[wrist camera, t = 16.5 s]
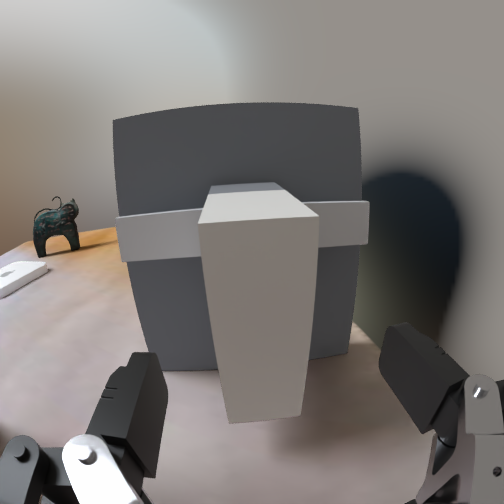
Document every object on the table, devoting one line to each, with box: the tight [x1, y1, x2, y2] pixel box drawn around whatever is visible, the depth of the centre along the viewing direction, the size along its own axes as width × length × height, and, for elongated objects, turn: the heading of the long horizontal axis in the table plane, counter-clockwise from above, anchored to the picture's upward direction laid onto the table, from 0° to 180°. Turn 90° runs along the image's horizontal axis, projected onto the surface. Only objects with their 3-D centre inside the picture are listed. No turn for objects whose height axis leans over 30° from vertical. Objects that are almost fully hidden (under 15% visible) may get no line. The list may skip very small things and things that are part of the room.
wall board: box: [113, 103, 369, 371], centre depth 25 cm, size 22×8×26 cm, turn 95°
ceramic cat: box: [33, 197, 80, 258], centre depth 77 cm, size 20×6×20 cm, turn 118°
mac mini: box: [0, 261, 48, 298], centre depth 53 cm, size 22×22×3 cm
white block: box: [198, 182, 319, 424], centre depth 19 cm, size 5×11×14 cm, turn 5°
